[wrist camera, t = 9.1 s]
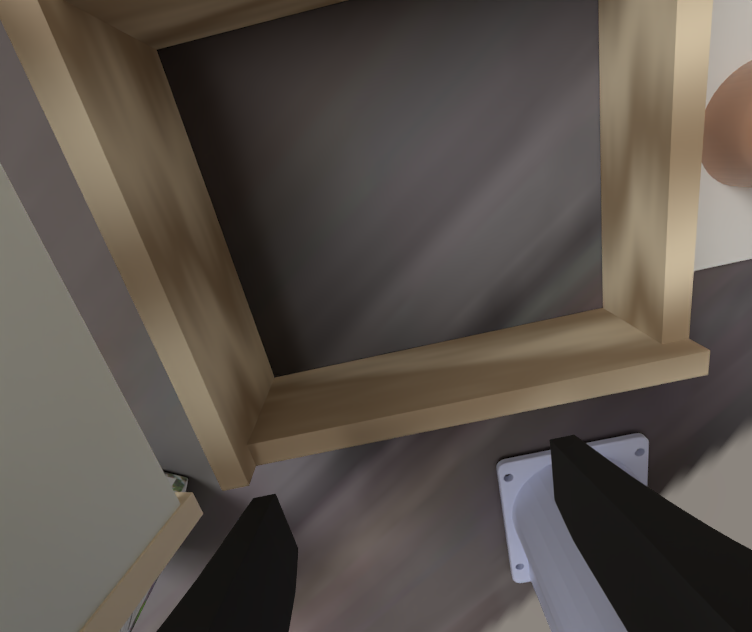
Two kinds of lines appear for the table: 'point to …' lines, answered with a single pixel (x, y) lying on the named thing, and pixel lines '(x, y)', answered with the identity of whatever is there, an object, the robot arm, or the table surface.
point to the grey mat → (716, 200)
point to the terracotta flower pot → (730, 130)
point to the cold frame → (402, 368)
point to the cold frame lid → (70, 460)
